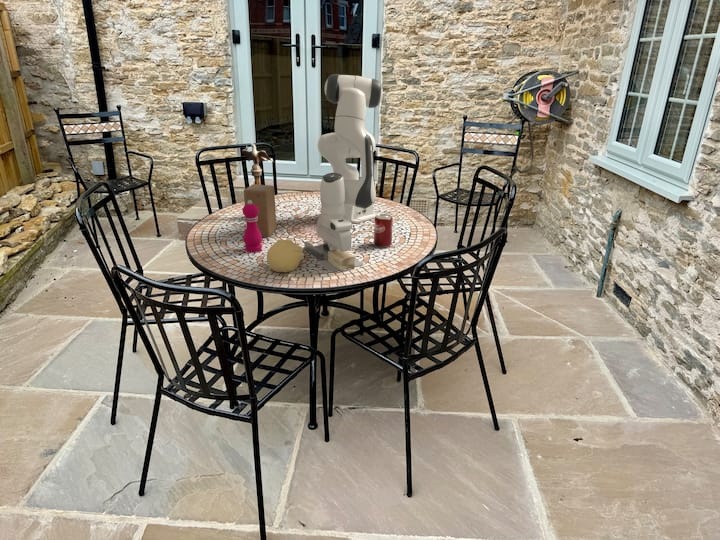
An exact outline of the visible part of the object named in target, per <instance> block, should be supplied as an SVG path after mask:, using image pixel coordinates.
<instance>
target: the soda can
mask: <svg viewBox="0 0 720 540" xmlns="http://www.w3.org/2000/svg"><path fill="white" fill-rule="evenodd" d="M393 220H394V217H393V216H392V215H391V214H387V213H378V215H376V216H375V218H374V227H373V244H374V246H376V247H378V248H388V247H391V246H392V244H393V242H392V241H393V227H394V225H393V224H394V221H393Z"/></svg>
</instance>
